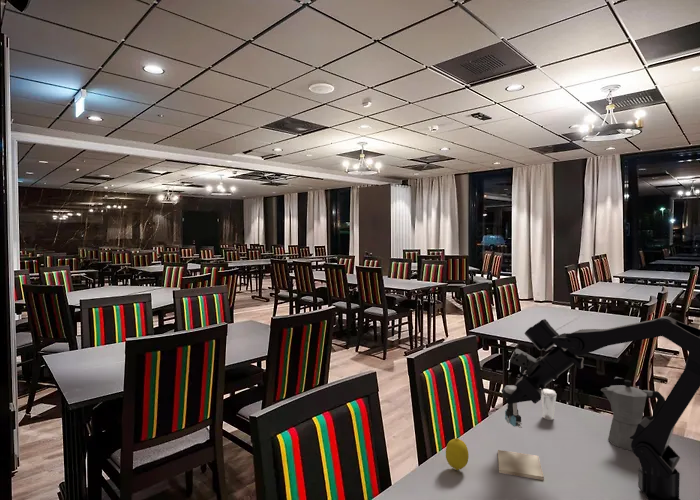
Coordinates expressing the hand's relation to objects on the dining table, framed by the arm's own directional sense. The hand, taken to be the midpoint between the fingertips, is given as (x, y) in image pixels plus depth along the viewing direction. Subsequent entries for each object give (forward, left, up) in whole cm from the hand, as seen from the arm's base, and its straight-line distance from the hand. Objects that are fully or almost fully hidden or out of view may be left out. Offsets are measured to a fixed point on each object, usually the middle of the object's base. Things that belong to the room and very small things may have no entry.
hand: (508, 398), depth 113 cm
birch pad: (-2, +10, -13) cm, 17 cm away
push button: (-1, 0, -7) cm, 7 cm away
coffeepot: (-33, -12, -13) cm, 38 cm away
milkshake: (-13, -23, -13) cm, 30 cm away
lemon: (+13, +17, -13) cm, 25 cm away
